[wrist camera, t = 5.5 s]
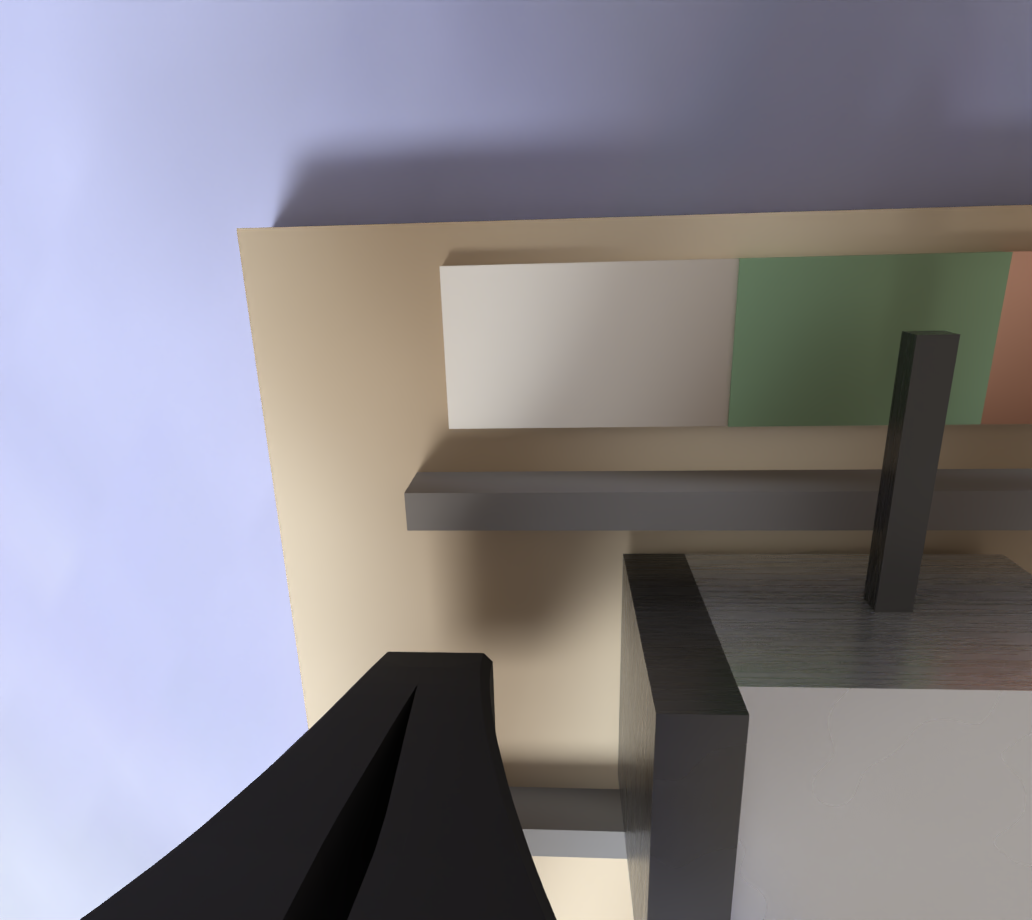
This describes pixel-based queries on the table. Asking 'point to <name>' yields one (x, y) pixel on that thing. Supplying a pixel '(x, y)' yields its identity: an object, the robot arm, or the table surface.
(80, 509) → the table surface
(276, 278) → the bench
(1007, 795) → the block with upright rod
